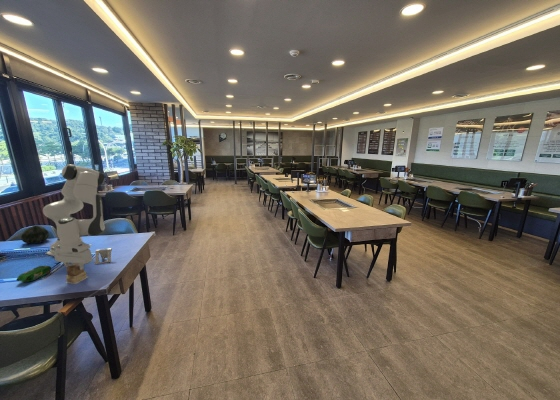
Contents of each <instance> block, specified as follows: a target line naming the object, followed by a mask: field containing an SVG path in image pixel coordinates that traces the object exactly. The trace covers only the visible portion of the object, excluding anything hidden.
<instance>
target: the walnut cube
mask: <svg viewBox="0 0 560 400" xmlns="http://www.w3.org/2000/svg"><path fill="white" fill-rule="evenodd" d="M78 267H80V265H79V263H72V264H70V266H68V267H66V266H65V269H66V275H70V276H77V275H78V274H80V273H82V272H84V271H85V270H84V269H82V270H78Z"/></svg>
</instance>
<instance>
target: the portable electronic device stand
mask: <svg viewBox="0 0 560 400" xmlns="http://www.w3.org/2000/svg"><path fill="white" fill-rule="evenodd" d="M112 251H113V248H109V247H108V248H104V249H103V248H102V249H101V248H100V249H96V250H95V254H94V255H95V259H94V260H95V261H94V263H93V264H94V265H99V264H110V263H112ZM100 258H101V260H102V261H100ZM105 259H107V260H105ZM103 260H104V261H103Z"/></svg>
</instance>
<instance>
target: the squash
mask: <svg viewBox="0 0 560 400" xmlns="http://www.w3.org/2000/svg"><path fill="white" fill-rule="evenodd" d="M49 236H50V233H49V231H48V230H47V229H46V228H45V227H43V226H40V225H33V226H30V227H28V228H26V229H25V230H24V231H23V232H22V233H21V236H20V239H21V241H22V242H23V243H25V244H34V243H36V244H40V243H43V242H45V241H46V240H47V239H48V238H49Z"/></svg>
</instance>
